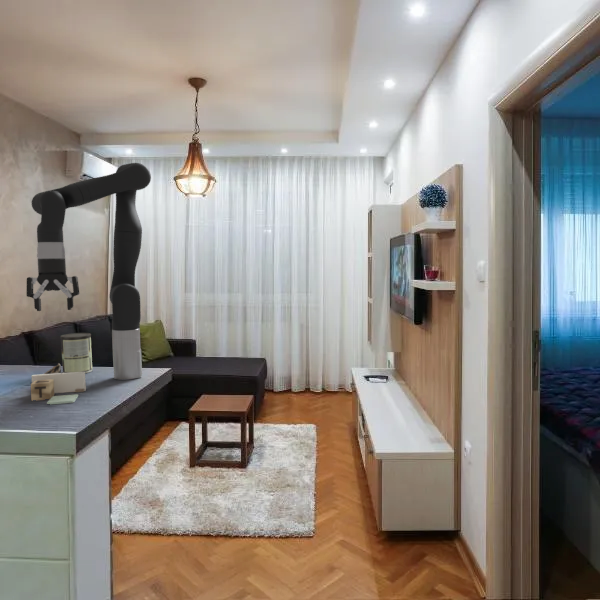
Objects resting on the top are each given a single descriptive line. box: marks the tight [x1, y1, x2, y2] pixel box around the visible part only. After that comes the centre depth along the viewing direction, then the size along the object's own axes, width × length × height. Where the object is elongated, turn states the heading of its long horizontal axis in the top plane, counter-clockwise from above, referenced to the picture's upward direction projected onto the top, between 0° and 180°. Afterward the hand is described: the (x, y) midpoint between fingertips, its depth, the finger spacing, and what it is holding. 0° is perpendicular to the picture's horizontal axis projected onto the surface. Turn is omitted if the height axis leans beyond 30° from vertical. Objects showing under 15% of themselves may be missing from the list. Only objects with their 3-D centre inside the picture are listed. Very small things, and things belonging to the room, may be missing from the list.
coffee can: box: [60, 332, 93, 374], centre depth 175 cm, size 10×10×14 cm
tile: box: [46, 394, 79, 405], centre depth 138 cm, size 7×7×1 cm
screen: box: [31, 372, 87, 394], centre depth 147 cm, size 15×3×6 cm, turn 105°
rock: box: [43, 362, 62, 374], centre depth 153 cm, size 9×7×10 cm
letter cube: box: [30, 379, 55, 402], centre depth 141 cm, size 5×5×5 cm
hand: (54, 310), depth 144 cm, fingers open, 8 cm apart
